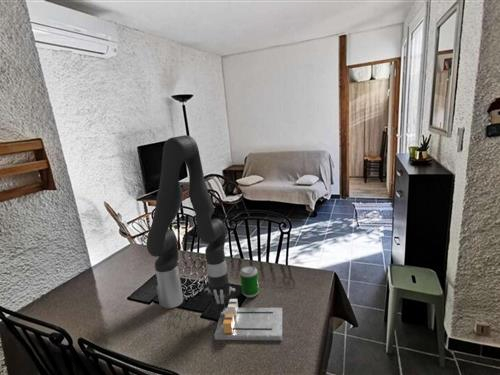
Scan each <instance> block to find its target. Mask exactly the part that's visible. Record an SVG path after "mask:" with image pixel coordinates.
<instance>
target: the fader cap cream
mask: <svg viewBox="0 0 500 375" xmlns="http://www.w3.org/2000/svg"><path fill="white" fill-rule="evenodd" d="M227 308H228V314H234V316H236V315H237V311H238V308H239V302H238V298H231V299H230V300H229V302H228V305H227Z"/></svg>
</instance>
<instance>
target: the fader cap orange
mask: <svg viewBox="0 0 500 375" xmlns="http://www.w3.org/2000/svg"><path fill="white" fill-rule="evenodd" d="M234 324H235V322H234V314H225V317H224V321H223V328H224V333H232V332H233V328H234Z"/></svg>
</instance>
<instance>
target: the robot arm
mask: <svg viewBox="0 0 500 375" xmlns="http://www.w3.org/2000/svg"><path fill="white" fill-rule="evenodd" d="M162 148H163V149H162V159H161V173H160V174H161V175H160V179H159V187H158V189H157V190H158V192H157V195H156V201H155V208H154V212H153V217H152V221H151V226H150V229H149V231H148V235H147V238H146V250H147V252H148V253H149V255H150V256H152V257H156V258H157V257H158V258H157V259H156V260H155V263H154V269H155V275H156V281H157V285H156V293H157V296H158V303H159V306H160V307H163V308H164V309H173V308H177V307H179V306H180V305H181V304H183V302H184V296H183V290H182V282H181V276H180V270H179V266H178V265H179V264H178V260H179V252H178V250H179V249H178V241H177V237H176V235H175V233H174V231H173V230H171V229H169V228H170V226H171V225H172V223H173V222H174V220H175V219H176V217H177V215H178V214H179V211H180V210H181V205H182V201H183V195H184V192H183V188H182V186H181V183H180V180H179V175H180V170H181V167H182V165H183V163H184V164H185V166H186V168H187V170H188V176H189V178H188V179H189V182H188V183H189V184H188V197H189V200H190V204H191V206H192V209H193V212H194V214H195V221H196V229H197V234H198V237H199V239H200V240H201V241H202V242H203V243H204V244H207V246H206V247H205V251H204V252H205V259H206V261H205V262H206V273H207V281H208V286H207V287H205V288H204V290H203V294H204V296H206V297H207V299H209V301H211V302H212V303H216V305H217V306H216V307H217V310H218V311H219V312H220V313H221V312H224V310H225V308H227V307H226V303H228V302H229V300H230V299H233V296H234V295H235V293H236V290H237V289H236V288H235V287H232V286H231V284H230V283H229V277H228V275H229V274H228V266H227V261H226V256H225V244H226V234H227V233H226V226H225V224H224V222H223V221H222V220H221V219H219V218H213V219H212V216H213V213H214V212H215V207H214V204H213V201H212V198H211V196H210V192H209V191H208V187H207V184H206V179H205V175H204V171H203V170H204V169H203V165H202V160H201V156H200V151H199V146H198V144H197V141H196V140H195V138H193V137H192V136H191V135H185V134H184V135H178V136H173V137H170V138H168V139H167V140H165V143H164V145H163V147H162ZM226 294H227V296H226Z"/></svg>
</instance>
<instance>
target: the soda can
mask: <svg viewBox="0 0 500 375" xmlns="http://www.w3.org/2000/svg"><path fill="white" fill-rule="evenodd" d="M239 274H240V283H241V286H240V287H241V294H243V296H245V297H246V298H254V297H256V296H257V295H258V294H259V292H260V286H259V274H258V269H257V268H256V267H255V266H253V265H246V266H244V267H242V268H241V270H240V272H239Z"/></svg>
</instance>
